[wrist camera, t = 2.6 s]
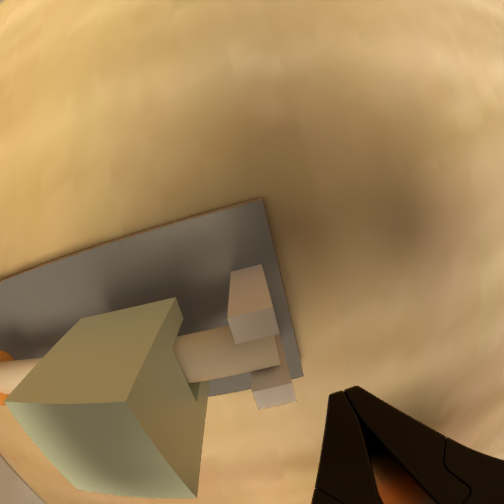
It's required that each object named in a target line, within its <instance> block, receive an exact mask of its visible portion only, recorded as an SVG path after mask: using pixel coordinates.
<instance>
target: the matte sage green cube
mask: <svg viewBox="0 0 504 504" xmlns="http://www.w3.org/2000/svg"><path fill="white" fill-rule="evenodd" d="M182 321H183V316H182V313H181V310H180V308H179V305H178V302H177V299H176V297H174V298H170V299H165V300H161V301H157V302H153V303H148V304H144V305H140V306H135V307H131V308H126V309H122V310H117V311H113V312H108V313H104V314H99V315H95V316H90V317H85V318H81V319H80V320H79V321H78V322H77V323H76V324H75V325H74V326H73V327H72V328H71V329H70V330H69V331H68V332H67V333H66V334H65V335H64V336H63V337H62V338H61V339H60V340H59V341H58V342H57V343H56V344H55V345H54V346H53V347H52V348H51V350H50V351H49V352H48V353H47V354H46V355H45V356H44V357H43V358H42V359H41V360H40V361H39V362H38V363H37V364H36V365H35V367H34V368H33V369H32V370H31V371H30V372H29V373H28V374H27V375H26V376H25V378H24V379H23V380H22V381H21V382H20V383H19V384H18V385H17V387H16V388H15V389H14V390H13V391H12V392H11V393H10V395H9V396H8V397H7V398H6V399H5V400H4V403H5V404H6V406H7V407H8V408H9V410H10V411H11V413H12V414H13V416H14V417H15V418H16V420H17V421H18V423H19V424H20V425H21V427H22V428H23V429H24V431H25V432H26V433H27V434H28V436H29V437H30V438H31V439H32V441H33V442H34V443H35V444H36V446H37V447H38V448H39V449H40V450H41V451H42V453H43V454H44V455H45V456H46V457H47V458H48V459H49V461H50V462H51V463H52V464H53V465H54V466H55V467H56V468H57V469H58V470H59V471H60V472H61V473H62V474H63V476H64V477H65V478H66V479H67V480H68V481H69V482H70V483H71V484H73V485H74V486H75V487H76V488H77V489H78V490H83V491H89V492H95V493H102V494H109V495H118V496H128V497H141V498H166V499H185V498H197V492H198V482H199V472H200V462H201V453H202V444H203V435H204V426H205V417H206V409H207V400H208V392H209V384H210V383H209V381H208V380H206V381H200V382H194V383H187V381H186V379H185V377H184V375H183V373H182V370H181V368H180V366H179V364H178V361H177V359H176V357H175V355H174V352H173V350H172V348H173V345H174V342H175V340H176V337H177V334H178V332H179V329H180V326H181V324H182Z"/></svg>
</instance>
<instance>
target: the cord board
mask: <svg viewBox="0 0 504 504" xmlns="http://www.w3.org/2000/svg"><path fill="white" fill-rule="evenodd" d="M174 297H176V299H177V302H178V305H179V308H180V310H181V313H182V316H183V321H182V324H181V326H180V329H179V332H178V334H177V337H176V340H175V342H174V345H173V348H172V350H173V352H174V355H175V357H176V359H177V361H178V364H179V366H180V368H181V370H182V373H183V375H184V377H185V379H186V381H187V383H194V382H200V381H206V380H208V381H209V383H210V384H209V392H208V397H210V396H216V395H222V394H227V393H233V392H238V391H243V390H248V389H252V393H253V396H254V399H255V402H256V404H257V407H258V410H260V409H265V408H269V407H274V406H278V405H282V404H286V403H291V402H295V401H296V397H295V393H294V389H293V385H292V381H291V379H295V378H299V377H302V376H304V375H303V370H302V366H301V361H300V357H299V352H298V348H297V343H296V339H295V334H294V330H293V325H292V321H291V317H290V312H289V308H288V304H287V299H286V295H285V291H284V287H283V282H282V278H281V274H280V270H279V266H278V261H277V257H276V253H275V249H274V245H273V241H272V237H271V233H270V229H269V225H268V221H267V217H266V213H265V209H264V205H263V201H262V199H261V198H258V199H254V200H250V201H246V202H242V203H238V204H234V205H231V206H227V207H223V208H219V209H216V210H212V211H208V212H205V213H201V214H198V215H194V216H191V217H187V218H184V219H180V220H177V221H173V222H170V223H166V224H163V225H160V226H156V227H153V228H150V229H146V230H143V231H140V232H137V233H133V234H130V235H127V236H124V237H121V238H118V239H114V240H111V241H108V242H105V243H102V244H99V245H96V246H93V247H90V248H87V249H84V250H81V251H78V252H75V253H72V254H69V255H67V256H64V257H61V258H58V259H55V260H52V261H50V262H47V263H44V264H41V265H39V266H36V267H33V268H30V269H28V270H25V271H22V272H20V273H17V274H14V275H12V276H9V277H7V278H4V279H2V280H0V405H6V404H5V403H4V400H5V399H6V398H7V397H8V396H9V395H10V393H11V392H12V391H13V390H14V389H15V388H16V387H17V385H18V384H19V383H20V382H21V381H22V380H23V379H24V378H25V376H26V375H27V374H28V373H29V372H30V371H31V370H32V369H33V368H34V367H35V365H36V364H37V363H38V362H39V361H40V360H41V359H42V358H43V357H44V356H45V355H46V354H47V353H48V352H49V351H50V350H51V348H52V347H53V346H54V345H55V344H56V343H57V342H58V341H59V340H60V339H61V338H62V337H63V336H64V335H65V334H66V333H67V332H68V331H69V330H70V329H71V328H72V327H73V326H74V325H75V324H76V323H77V322H78V321H79V320H80V319H81V318H85V317H90V316H95V315H99V314H104V313H108V312H113V311H117V310H122V309H126V308H131V307H135V306H140V305H144V304H148V303H153V302H157V301H161V300H165V299H170V298H174Z"/></svg>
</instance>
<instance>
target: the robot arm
mask: <svg viewBox="0 0 504 504" xmlns="http://www.w3.org/2000/svg"><path fill="white" fill-rule="evenodd" d="M311 504H504V460H501V459H498V458H495V457H491V456H488V455H486V454H483V453H480V452H478V451H475V450H472V449H470V448H468V447H466V446H464V445H462V444H460V443H458V442H456V441H454V440H452V439H450V438H448V437H447V438H446V436H444V435H442V434H441V433H439V432H437V431H435V430H433V429H431V428H430V427H428V426H426V425H424V424H422V423H421V422H419V421H417V420H415V419H413V418H412V417H410V416H408V415H406V414H405V413H403V412H401V411H400V410H398V409H396V408H394V407H393V406H391V405H389V404H388V403H386V402H384V401H383V400H381V399H379V398H377V397H376V396H374V395H372V394H371V393H369V392H368V391H366V390H364V389H363V388H361V387H359V386H354V387H351V388H348V389H345V390H344V392H343V391H338V392H335V393H332V394H330V395H329V399H328V407H327V415H326V423H325V430H324V437H323V443H322V450H321V456H320V462H319V468H318V473H317V479H316V484H315V489H314V493H313V498H312V503H311Z"/></svg>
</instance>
